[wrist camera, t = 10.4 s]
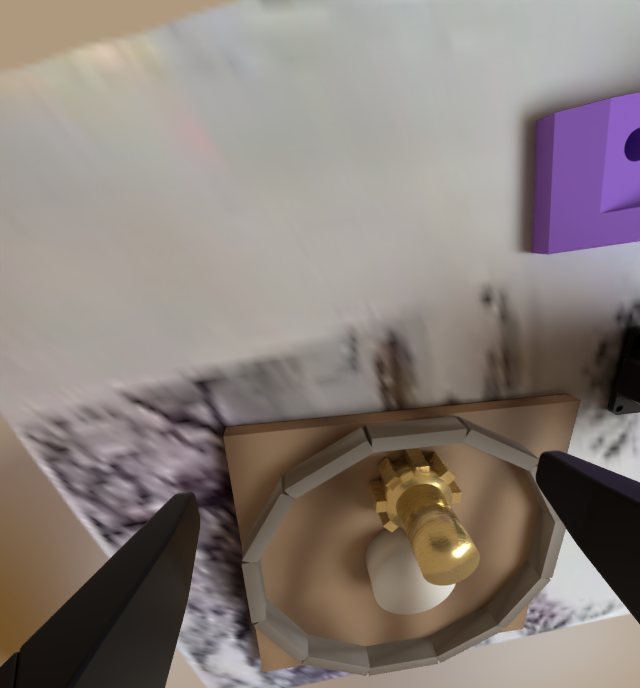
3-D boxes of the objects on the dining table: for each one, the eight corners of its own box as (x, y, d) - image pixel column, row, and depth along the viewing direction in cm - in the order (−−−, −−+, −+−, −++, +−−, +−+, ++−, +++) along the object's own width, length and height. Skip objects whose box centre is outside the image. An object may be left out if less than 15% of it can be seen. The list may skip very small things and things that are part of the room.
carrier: (568, 394, 23) (616, 420, 19) (515, 616, 31) (543, 662, 27) (226, 427, 21) (215, 463, 17) (263, 657, 28) (260, 712, 25)
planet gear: (451, 443, 22) (510, 517, 16) (442, 507, 24) (493, 593, 18) (369, 451, 21) (401, 530, 16) (367, 516, 23) (395, 608, 17)
